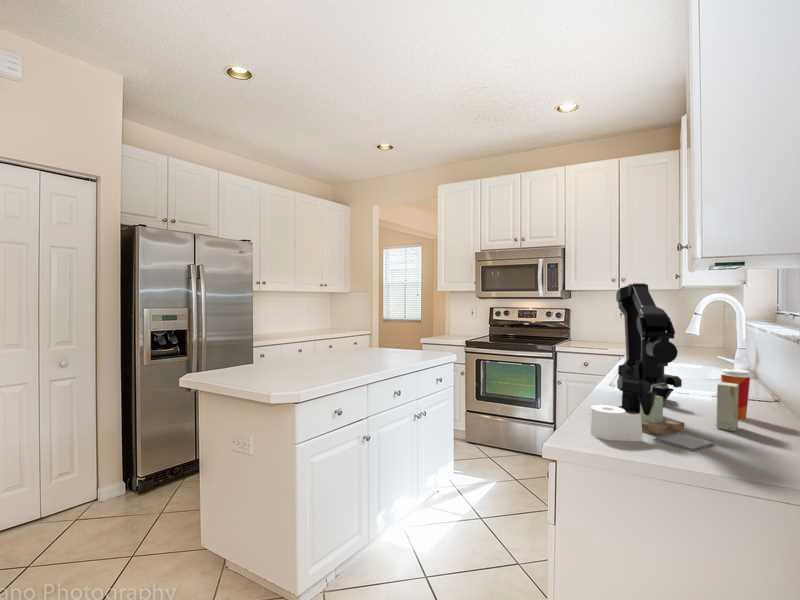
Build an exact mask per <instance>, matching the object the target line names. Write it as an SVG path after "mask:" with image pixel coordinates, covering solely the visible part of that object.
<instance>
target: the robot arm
mask: <svg viewBox="0 0 800 600" xmlns="http://www.w3.org/2000/svg"><path fill="white" fill-rule="evenodd" d="M615 295H616V296H615V297H616V299H615V300H616V303H618V306H617V307H618V309H619V310H620V312H621V313H622V315H624V336H625V357H626V358H625V361H624V363H623V364H620V365H618V368H617V371H618V372H617V375H618V378H617V381H616V387H617V389H618V390H619V391H621V392H622V393H621V394H622V395H621V405H620V406H617V407H619V408H622V409H624V410H625V411H628V412H631V413H635V414H639V413H640V403H641V406H642V409H643V412H644V414H645V415H649V413H650V411H651V408H652V405H653V402H654V399H655V396H661V397H663V405H665V402H666V401H667V399H668V398H669V397H670V395H671V394H672V392H674V388H681V387H682V385H683V383H682V382H683V380H682V379H681V378H680V377H679V375H678V376H677V375H671V374H666V373H665V367H668V366H669V363H672V362H673V361H675V360H676V359H677V356H678V351H679V350H678V349H677V346H676V345H675V344H674V343H673V342H671V341H670V339H672V340H673V339H674V340H675V334H676V331H675V327H674V326H673V325H674V324H673V322H672V320H671V318H670V316H669V315H668V313H667V312H666V311H665V310H664V309H662V308H660V307H658V306H657V305H656V303H655V301H654V299H653V297H652V295H651V293H650V291H649V285H648V284H646V283H642V282H639V283H638V282H637V283H636V282H633V283H628V285H626V286H623V287H620V288H619V289H617V291H616V294H615ZM670 386H673V388H669V387H670Z"/></svg>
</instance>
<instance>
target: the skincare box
mask: <svg viewBox="0 0 800 600" xmlns="http://www.w3.org/2000/svg"><path fill="white" fill-rule="evenodd" d="M716 389H717V395H716V428H717V429H720V430H726V431H731V432H736V431H737V429H738V427H739V419H738V393H739V384H734V383H726V382H719V383H718V384H717V388H716Z"/></svg>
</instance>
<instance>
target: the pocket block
mask: <svg viewBox="0 0 800 600" xmlns="http://www.w3.org/2000/svg"><path fill="white" fill-rule="evenodd" d="M633 415H640V412H638V413H635V414H633ZM641 424H642V433H647V434H650V435H653V436H656V437H659V436H663V435H667V434H671V433H675V432H676V433H679V432H682V431H684V430H685V422H682V421H679V420H675V419H671V418H667V417H664V416H663V422H662V423H657V424H653V423H649V422H646V421H642V420H641Z"/></svg>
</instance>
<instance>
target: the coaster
mask: <svg viewBox="0 0 800 600" xmlns="http://www.w3.org/2000/svg"><path fill="white" fill-rule="evenodd" d="M654 440H655V441H658V442H662V443H664V444H667V445H671V446H675V447H679V448H682V449H685V450H688V451H691V452H694V451H697V450H700V449H701V450H702V449H705V448H708V447H711V446H713V445H714V442H711V441H709V440H705V439H701V438H698V437H693V436H690V435H687V434H683V433H680V432H674V433H670V434H666V435H662V436H656V437H654Z"/></svg>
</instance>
